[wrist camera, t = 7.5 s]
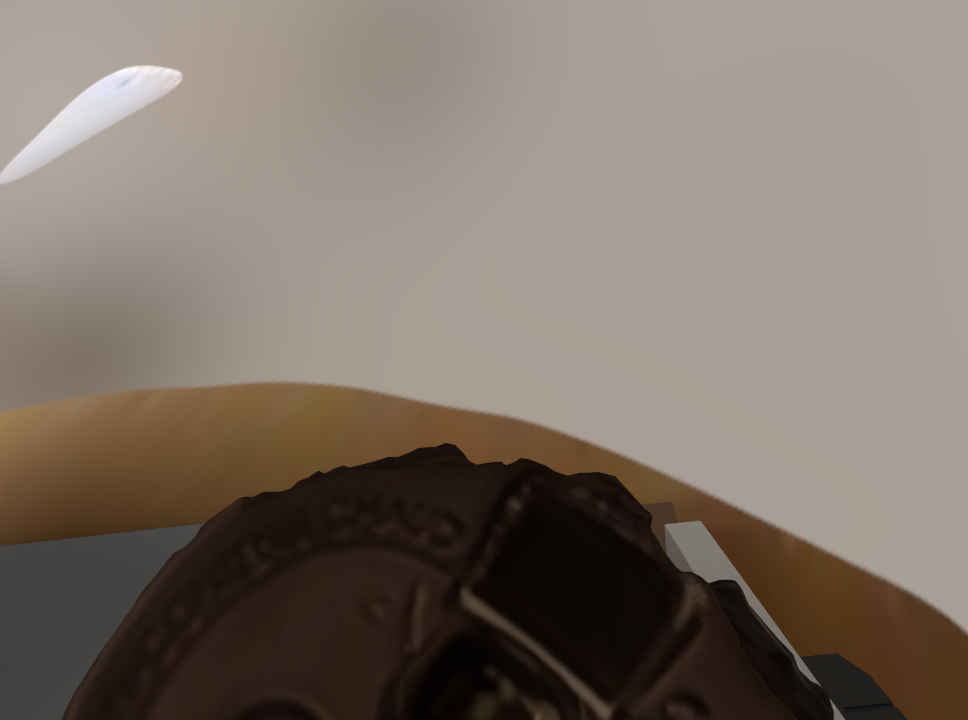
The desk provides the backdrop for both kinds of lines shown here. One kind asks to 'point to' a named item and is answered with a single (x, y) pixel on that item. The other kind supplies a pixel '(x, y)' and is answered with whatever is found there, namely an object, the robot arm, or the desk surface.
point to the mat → (69, 610)
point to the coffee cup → (440, 610)
